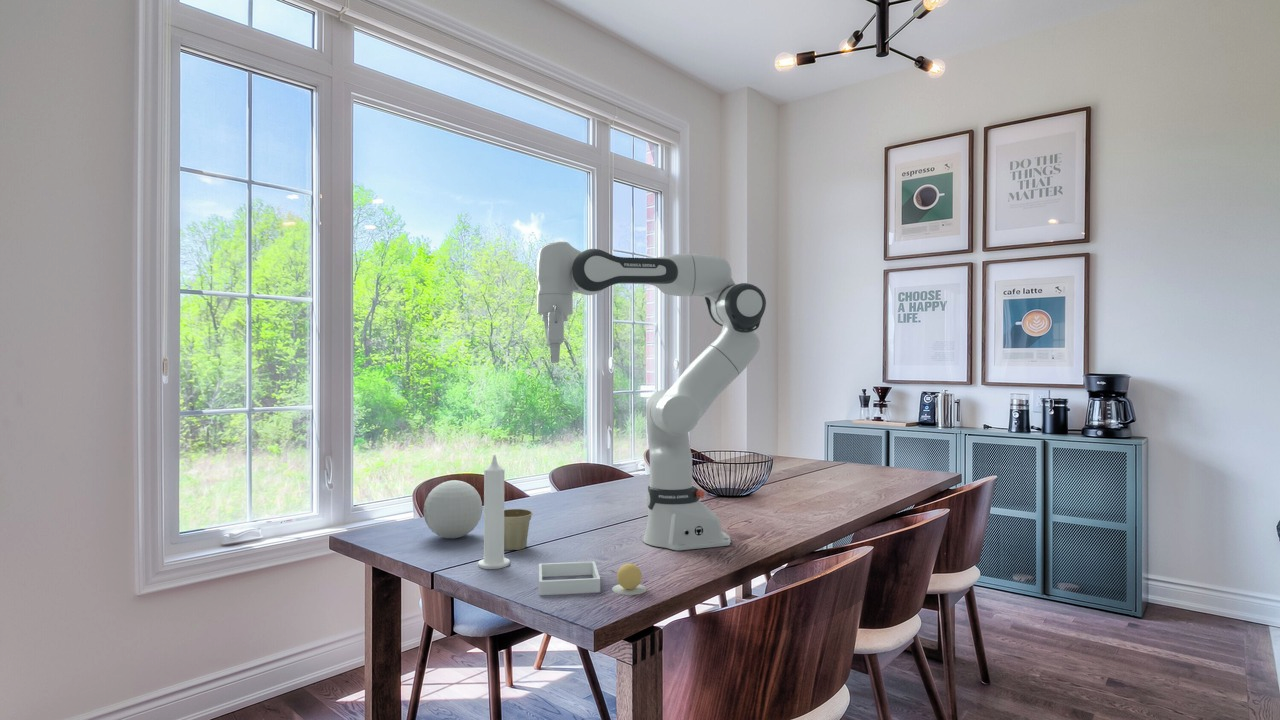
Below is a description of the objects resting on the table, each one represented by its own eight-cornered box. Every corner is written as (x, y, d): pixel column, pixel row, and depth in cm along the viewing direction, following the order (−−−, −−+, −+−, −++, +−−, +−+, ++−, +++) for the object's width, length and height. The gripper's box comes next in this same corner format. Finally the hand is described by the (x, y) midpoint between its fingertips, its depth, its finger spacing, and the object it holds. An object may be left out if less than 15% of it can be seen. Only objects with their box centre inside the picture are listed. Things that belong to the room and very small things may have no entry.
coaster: (643, 584, 138) (643, 582, 138) (649, 595, 132) (649, 593, 132) (610, 585, 137) (610, 583, 137) (614, 597, 130) (614, 595, 130)
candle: (480, 560, 155) (481, 452, 155) (511, 559, 156) (511, 452, 156) (475, 569, 148) (476, 457, 148) (507, 569, 148) (508, 456, 149)
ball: (639, 584, 137) (639, 559, 137) (643, 592, 132) (643, 567, 132) (615, 585, 136) (615, 560, 137) (618, 593, 132) (618, 568, 132)
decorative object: (443, 529, 185) (444, 474, 185) (492, 532, 181) (492, 477, 181) (411, 542, 170) (411, 484, 170) (463, 547, 166) (463, 487, 166)
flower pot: (524, 553, 161) (524, 518, 161) (487, 551, 162) (488, 516, 163) (538, 543, 170) (538, 509, 170) (503, 541, 172) (503, 508, 172)
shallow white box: (594, 575, 144) (594, 561, 144) (600, 593, 132) (600, 578, 132) (538, 577, 142) (538, 563, 142) (539, 597, 131) (539, 581, 131)
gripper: (569, 303, 157) (569, 362, 157) (565, 310, 177) (565, 362, 177) (542, 303, 156) (542, 362, 156) (541, 310, 176) (541, 362, 176)
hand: (555, 362), depth 166 cm, fingers open, 8 cm apart
